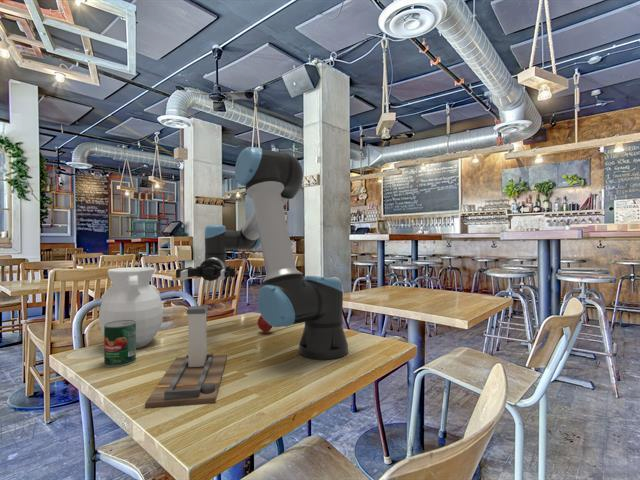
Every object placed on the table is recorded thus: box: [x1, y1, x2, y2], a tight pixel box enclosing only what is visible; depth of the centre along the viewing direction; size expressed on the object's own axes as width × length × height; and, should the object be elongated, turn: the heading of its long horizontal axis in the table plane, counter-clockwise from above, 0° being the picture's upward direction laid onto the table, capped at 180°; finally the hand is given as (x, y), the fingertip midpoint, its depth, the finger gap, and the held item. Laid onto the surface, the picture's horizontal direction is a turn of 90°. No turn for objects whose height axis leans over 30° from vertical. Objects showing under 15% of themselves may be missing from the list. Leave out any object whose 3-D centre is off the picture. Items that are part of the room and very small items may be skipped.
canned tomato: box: [103, 320, 137, 368], centre depth 100 cm, size 8×8×11 cm
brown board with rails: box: [144, 353, 228, 409], centre depth 88 cm, size 28×14×2 cm, turn 10°
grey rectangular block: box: [186, 305, 209, 367], centre depth 95 cm, size 5×5×15 cm
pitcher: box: [98, 266, 164, 349], centre depth 116 cm, size 19×18×25 cm
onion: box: [257, 315, 273, 334], centre depth 131 cm, size 6×6×8 cm
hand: (202, 276), depth 103 cm, fingers open, 10 cm apart
